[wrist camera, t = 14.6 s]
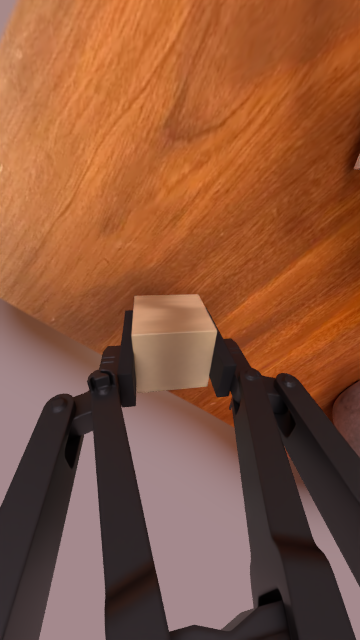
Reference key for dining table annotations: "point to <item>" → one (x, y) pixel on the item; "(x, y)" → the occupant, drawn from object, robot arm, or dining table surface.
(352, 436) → the mortar
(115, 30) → the dining table surface
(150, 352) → the block
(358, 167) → the drawer
